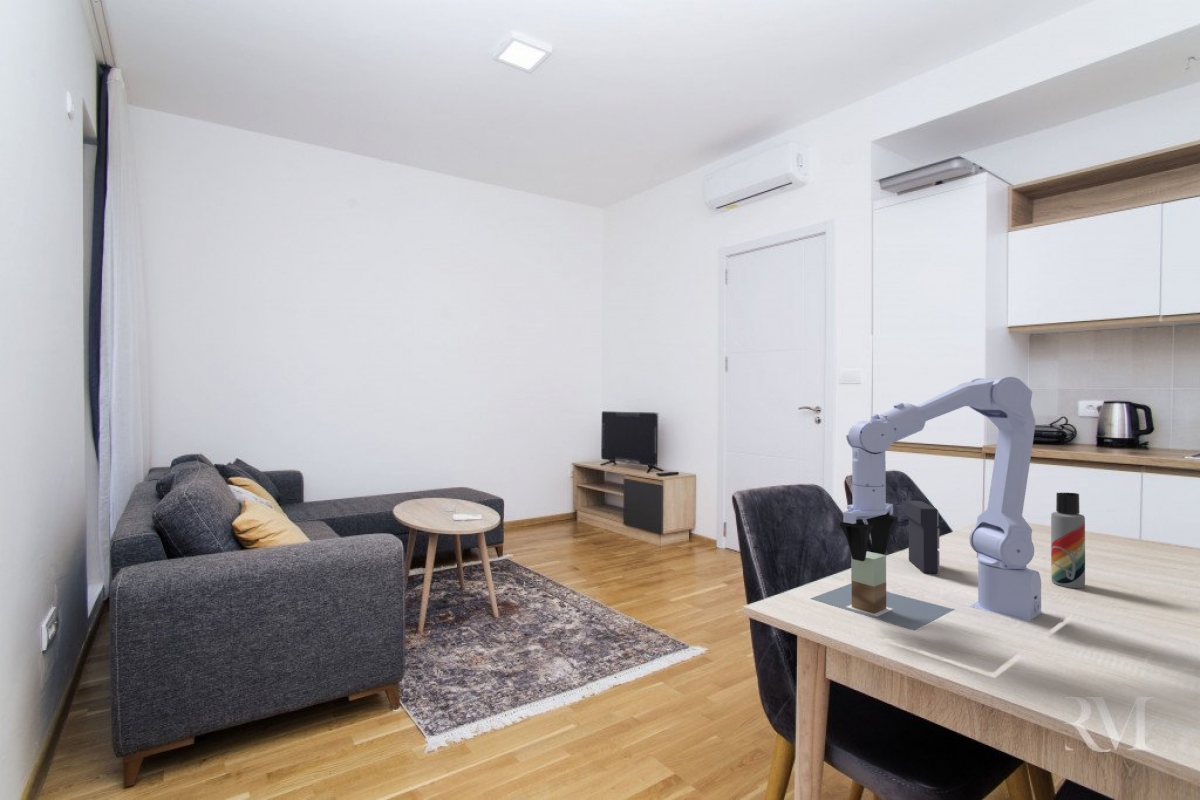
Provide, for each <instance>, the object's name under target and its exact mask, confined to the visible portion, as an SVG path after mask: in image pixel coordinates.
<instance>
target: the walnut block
mask: <svg viewBox="0 0 1200 800" xmlns="http://www.w3.org/2000/svg"><path fill="white" fill-rule="evenodd" d="M851 583H852V607H853V608H857V609H860V610H863V611H867V612H870V613H873V614H875V613H877V612H880V611H882V610H884V609H886V592H887V581H886V582H885V583H882V584H879V585H877V586H870V585H866V584H863V583H859V582H855V581H851Z"/></svg>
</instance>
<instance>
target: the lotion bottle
mask: <svg viewBox="0 0 1200 800" xmlns="http://www.w3.org/2000/svg"><path fill="white" fill-rule="evenodd" d="M1055 497H1056V498H1055V499H1056V503H1055V504H1056V505H1055V508H1056V509H1055V510H1056V511H1054V512H1051V514H1050V515H1051V516H1050V559H1051V563H1050V566H1051V567H1050V569H1051V570H1050V576H1051V579H1050V580H1051V582H1052V584H1054V585H1056V586H1059V587H1064V588H1070V589H1083V588H1085V586H1086V517H1085V516H1084V515H1083V514H1081V513H1080V494H1079V493H1078V492H1056V496H1055Z"/></svg>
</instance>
